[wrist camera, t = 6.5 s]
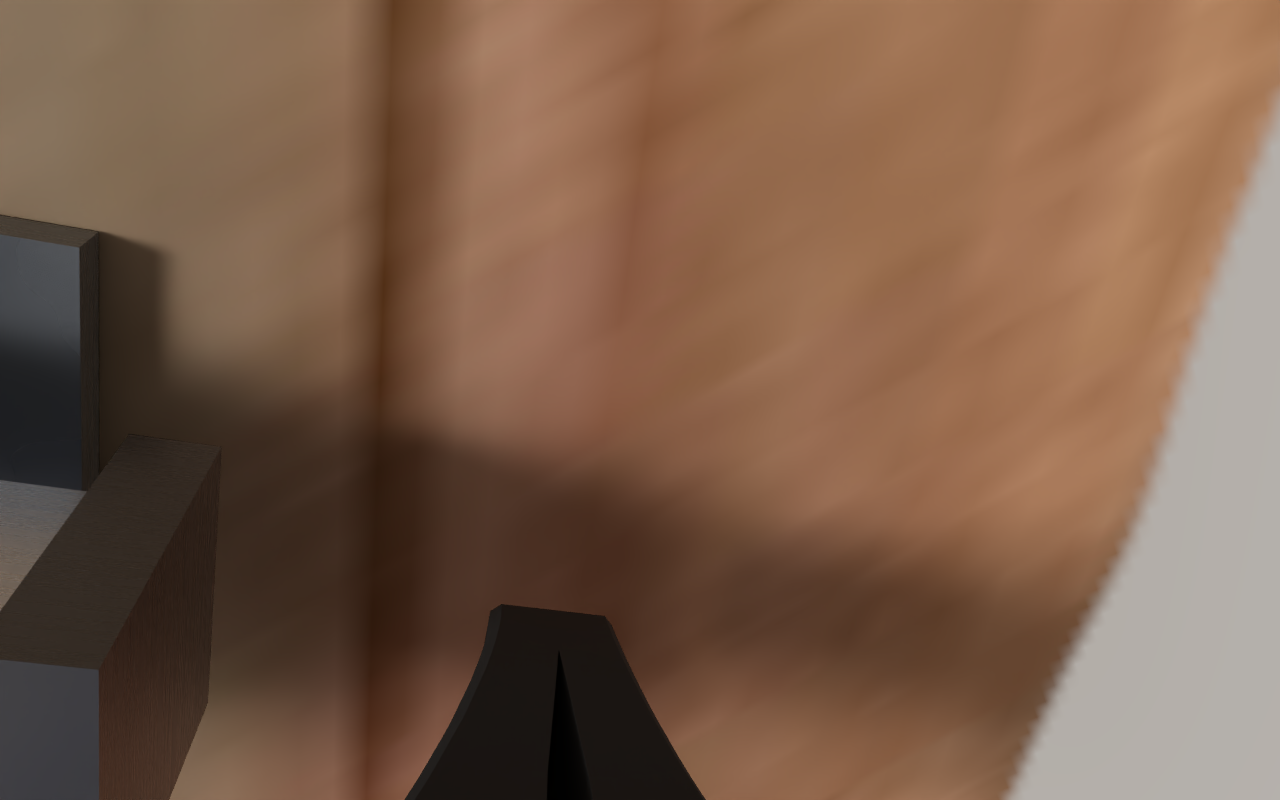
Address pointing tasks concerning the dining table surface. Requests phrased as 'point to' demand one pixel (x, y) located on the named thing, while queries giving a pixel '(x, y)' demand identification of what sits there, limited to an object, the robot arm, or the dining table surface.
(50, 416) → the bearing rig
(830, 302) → the dining table surface
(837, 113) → the dining table surface
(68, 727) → the shaft
